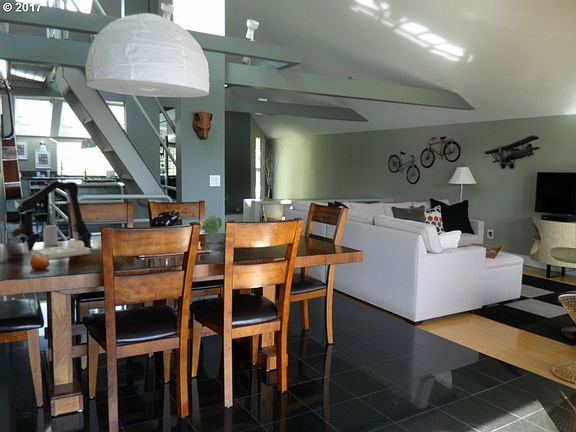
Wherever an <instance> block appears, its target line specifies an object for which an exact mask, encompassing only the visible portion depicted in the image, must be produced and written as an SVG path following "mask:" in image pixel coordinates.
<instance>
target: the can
mask: <svg viewBox="0 0 576 432" xmlns="http://www.w3.org/2000/svg"><path fill="white" fill-rule="evenodd" d="M42 230H43V234H42V235H43V245H44V246H45V247H54V246H57V245H58V227H56V225H53V224H51V225H50V224H49V225H44V227H43V229H42Z"/></svg>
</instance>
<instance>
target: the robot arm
mask: <svg viewBox="0 0 576 432" xmlns="http://www.w3.org/2000/svg"><path fill="white" fill-rule="evenodd" d="M57 189H63V190H64V191H65V194H66V195H67V197H68V200H69V203H70V204H69V205H70V208H71V213H72V217H73V224H71V227H72V232H74V234H76V235H77V237H78V238H77V239H76V240H77V241H78V240H80V241H83V243H84V247H87V248H93V246H92V244H91V243H92V241H91V240H92V239H91V238H92V236H93V235H92V233H91V232H90V231H88V227H87V226H86V224H85V222H84V220H83V217H82V212H81V207H80V203H79V199H78V193H79V190H78V189H79V187H78V184H77V183H76V182H74V181H66V182H61V181H56V180H52V181H50V183H48V184H47V185H46V186H45V187H42V188H41V189H40V190H38V191H37V192H36V193H34V194H33V195H31V196H27V197H26V198H23V199H21V200H20V201H19V204H18V207H17V208H15V210H5V211H4V218H3V219H4V223H5V225H7V224H18V223H19V222H20V224H19V225H18V227H16V228H13V229H10V230H8V233H9V234H10V237H13V238H16V237H17V239H18V240H20V241H21V244H23V243H24V242H25V241H27V245H28V250H29V251H31V250H32V248H33V249H34V246H35V244H36V242H37V240H39V239H41V234H39V233H36V232H35V231H34V227H35V223H34V217H33V216H34V215H37V212H36V211H35V210H34V209H33V208H35V206H36V205H37V204H38V203H39V202H40V201H41V200H43V198H45V197H46V196H48V195H49V194H50V193H52V192H54V191H55V190H57Z"/></svg>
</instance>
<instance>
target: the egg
mask: <svg viewBox="0 0 576 432" xmlns="http://www.w3.org/2000/svg"><path fill="white" fill-rule="evenodd" d="M33 250H34V247H33V248H32V250H31V251H29V250H28V245H27V241H25V242H24V243H22V254H23V255H31V254H32V255H33Z"/></svg>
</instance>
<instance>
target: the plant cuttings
mask: <svg viewBox="0 0 576 432" xmlns="http://www.w3.org/2000/svg"><path fill="white" fill-rule="evenodd" d="M202 223H203V224H202V225H201V227H200V228H201V229H200V230H199V232H202V231H203V232H202V235H204V234H206V233H207V234H208V235H209V236H211V238H208V239H207V240H206V243H210V241H211V239H212V238H213V237H215V236H216V234H217V235H218V236H220V237H221V239H223V240H225V236H224V235H222V234H221V233H219V229H222V226H223V220H222V219H221V216H218V217H217V216H216V215H215V214H214V215H213V214H212V215H209V216H208V218H207V219H205V220H204V221H202ZM222 231H223V232H224V233H225V232H226V231H225V230H223V229H222ZM215 238H217V239H218V240H219V241H221V242H222V243H224V241H223V240H221V239H220V238H218V237H215Z"/></svg>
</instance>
